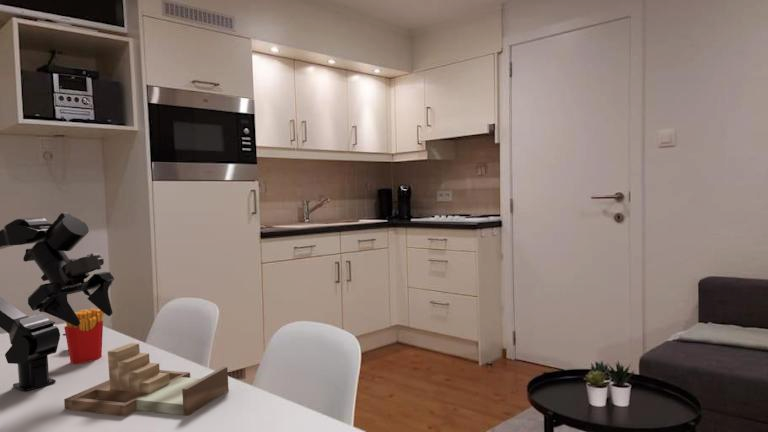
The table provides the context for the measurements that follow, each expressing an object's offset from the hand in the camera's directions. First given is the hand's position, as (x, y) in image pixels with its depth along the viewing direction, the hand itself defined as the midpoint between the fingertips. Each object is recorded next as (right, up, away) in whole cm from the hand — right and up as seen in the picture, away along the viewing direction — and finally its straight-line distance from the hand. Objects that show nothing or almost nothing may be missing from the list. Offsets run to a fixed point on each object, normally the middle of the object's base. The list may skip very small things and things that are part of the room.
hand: (95, 319), depth 116 cm
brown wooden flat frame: (+15, -15, -6) cm, 22 cm away
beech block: (+12, -13, -5) cm, 18 cm away
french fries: (-15, -15, +23) cm, 31 cm away
